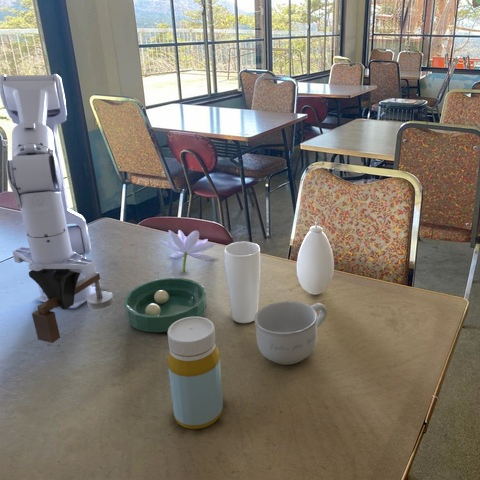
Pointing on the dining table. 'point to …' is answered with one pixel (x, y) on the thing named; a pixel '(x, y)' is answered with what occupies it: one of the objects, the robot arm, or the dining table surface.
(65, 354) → the dining table surface
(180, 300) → the bowl
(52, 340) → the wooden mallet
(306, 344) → the teacup
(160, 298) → the ball
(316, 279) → the sauce bottle
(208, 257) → the water lily
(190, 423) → the bottle
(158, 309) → the ball
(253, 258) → the white tumbler
